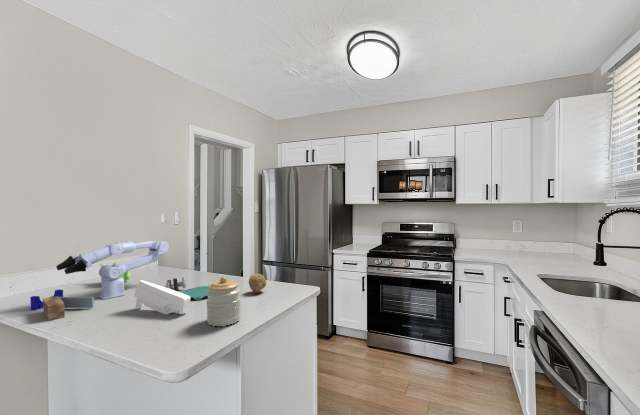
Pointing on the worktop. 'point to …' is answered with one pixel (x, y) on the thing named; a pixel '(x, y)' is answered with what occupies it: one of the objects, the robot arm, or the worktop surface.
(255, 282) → the natural sponge
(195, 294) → the teal cloth
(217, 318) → the jar
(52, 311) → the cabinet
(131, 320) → the worktop surface
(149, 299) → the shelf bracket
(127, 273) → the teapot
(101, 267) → the robot arm
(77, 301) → the door
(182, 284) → the bike brake
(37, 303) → the cable clip
